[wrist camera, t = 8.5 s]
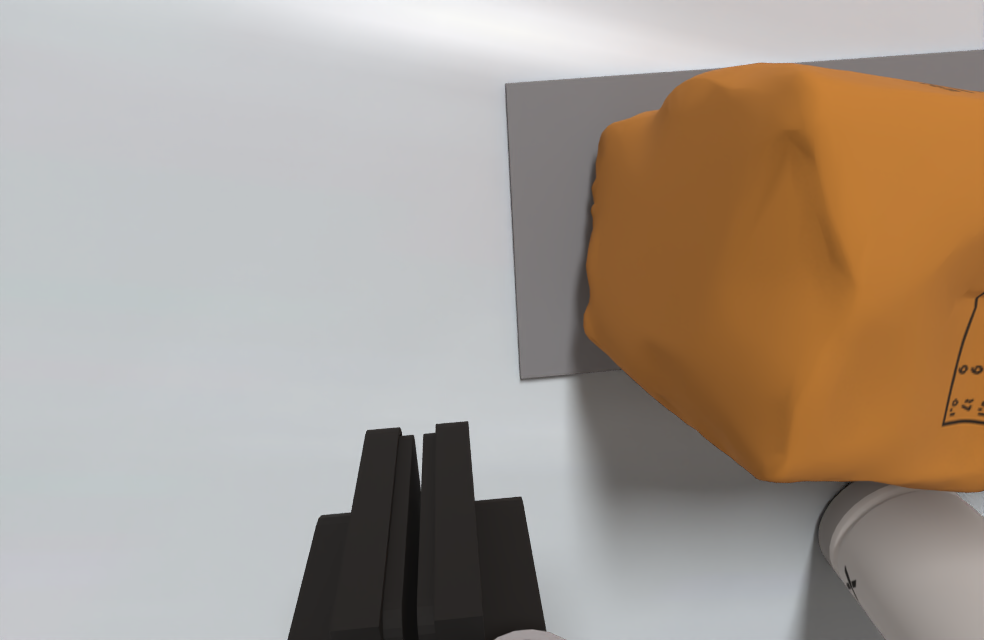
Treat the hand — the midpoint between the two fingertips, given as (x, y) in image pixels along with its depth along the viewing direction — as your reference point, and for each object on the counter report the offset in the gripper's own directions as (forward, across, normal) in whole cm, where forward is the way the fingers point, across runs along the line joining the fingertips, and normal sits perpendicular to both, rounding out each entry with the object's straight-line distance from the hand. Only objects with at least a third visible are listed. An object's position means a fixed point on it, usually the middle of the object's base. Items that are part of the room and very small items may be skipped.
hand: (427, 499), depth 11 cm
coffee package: (+7, -6, -1) cm, 9 cm away
